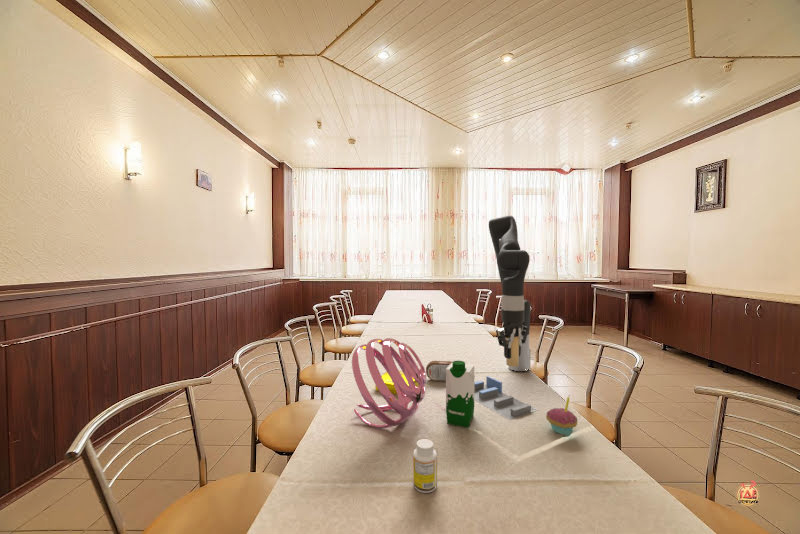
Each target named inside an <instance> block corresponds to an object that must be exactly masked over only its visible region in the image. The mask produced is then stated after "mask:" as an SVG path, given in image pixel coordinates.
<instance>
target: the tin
mask: <svg viewBox="0 0 800 534" xmlns="http://www.w3.org/2000/svg"><path fill="white" fill-rule="evenodd" d="M452 362H453V361H449V360H447V361H446V360H445V361H444V360H432V361H430V362H429V363H428V364H427V365H426V367H425V373H426V377H427V378H428V379H429V380H431V381H434V382H446V368H447V367H448V366H449V365H450V364H451V363H452Z"/></svg>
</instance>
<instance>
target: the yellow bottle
mask: <svg viewBox="0 0 800 534" xmlns="http://www.w3.org/2000/svg"><path fill="white" fill-rule="evenodd" d="M507 338H510V337H507ZM507 344H508V341H507ZM510 348H511V359H507V358H506V361H505V362H506V365H507V367H509V366H512V367H517V366H519V337H518V336H517V337H514V339H513V342H512V343H511V347H510Z"/></svg>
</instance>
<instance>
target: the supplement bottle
mask: <svg viewBox="0 0 800 534" xmlns="http://www.w3.org/2000/svg"><path fill="white" fill-rule="evenodd" d="M415 445H416V446H415V449H414V450H413V454H412V457H413V459H412V461H413V462H412V464H413V465H412V466H413V468H412V469H413V470H412V471H413V473H412V475H413V486H414V488H415V490H416V491H417V492H419V493H423V494H428V493H431V492H434V491H435V490H436V488H437V486H438V454H437V450H436V449H435V448H434V442H433V441H432V440H430V439H427V438H422V439H419V440H417V442H416V444H415Z"/></svg>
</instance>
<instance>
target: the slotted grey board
mask: <svg viewBox="0 0 800 534" xmlns="http://www.w3.org/2000/svg"><path fill="white" fill-rule="evenodd" d="M485 377H486V378H485V379H486V384H485V381H482V380H479V381H474V402H477V403H479V404H480V405H482V406H484V407H486V408H488V409H489V410H491V411H493V412H494V413H496V414H498V415H500V416H501V417H504V418H506V419H507V420H509V421H511V420H514V419H517V418H520V417H523V416H526V415H528V414H531V413H534V412H537V411H539V409H538V408H535V407H534V406H532V405H531V404H529V403H525V402H523V401H521V400H519V399H517V398H514V396H513V395H508V394H506V393H504V392H503V382H502V381H500V380H498V379H496V378H493V377H491V376H489V375H487V376H485Z"/></svg>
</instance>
